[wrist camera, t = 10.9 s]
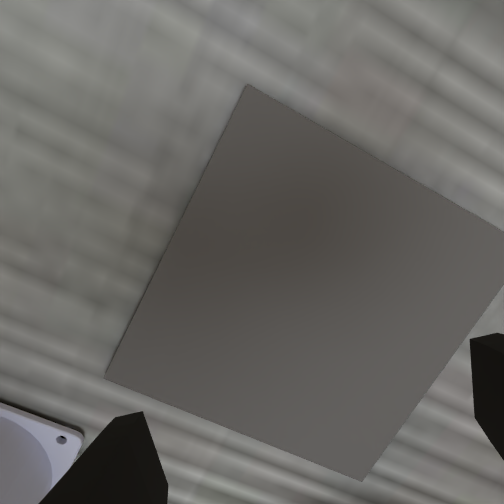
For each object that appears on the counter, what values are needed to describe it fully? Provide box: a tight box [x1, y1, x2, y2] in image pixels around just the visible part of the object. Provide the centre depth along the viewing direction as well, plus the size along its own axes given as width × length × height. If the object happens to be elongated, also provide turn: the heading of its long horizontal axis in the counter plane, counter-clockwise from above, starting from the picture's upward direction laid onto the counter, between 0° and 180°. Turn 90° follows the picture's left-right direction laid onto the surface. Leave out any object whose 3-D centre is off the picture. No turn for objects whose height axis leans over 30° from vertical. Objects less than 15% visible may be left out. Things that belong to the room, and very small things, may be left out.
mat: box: [104, 84, 504, 482], centre depth 19 cm, size 15×15×1 cm
